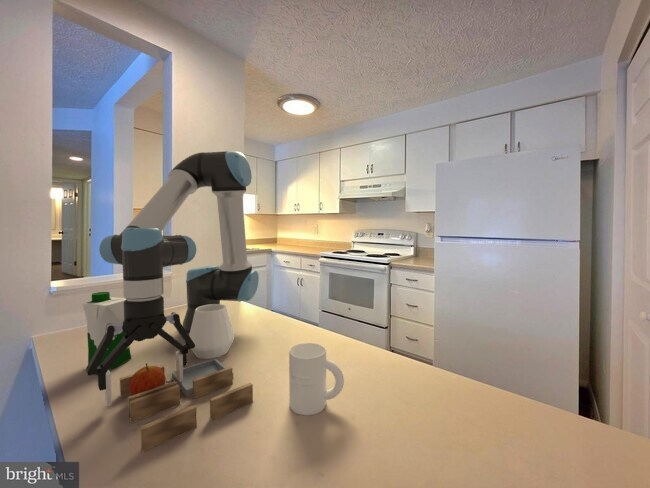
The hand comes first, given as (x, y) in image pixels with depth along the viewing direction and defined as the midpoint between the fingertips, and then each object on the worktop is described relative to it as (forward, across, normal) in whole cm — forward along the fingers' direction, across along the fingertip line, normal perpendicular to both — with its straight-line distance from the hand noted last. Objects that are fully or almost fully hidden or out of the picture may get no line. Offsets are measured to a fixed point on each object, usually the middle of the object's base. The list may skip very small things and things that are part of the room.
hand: (146, 391), depth 65 cm
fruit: (+2, 0, 0) cm, 2 cm away
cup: (+2, -20, -14) cm, 25 cm away
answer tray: (+2, -12, 0) cm, 13 cm away
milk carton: (+2, +4, -26) cm, 27 cm away
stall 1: (+2, 0, 0) cm, 2 cm away
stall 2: (+2, 0, +12) cm, 12 cm away
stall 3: (+2, -12, +12) cm, 17 cm away
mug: (+2, -26, +28) cm, 38 cm away
